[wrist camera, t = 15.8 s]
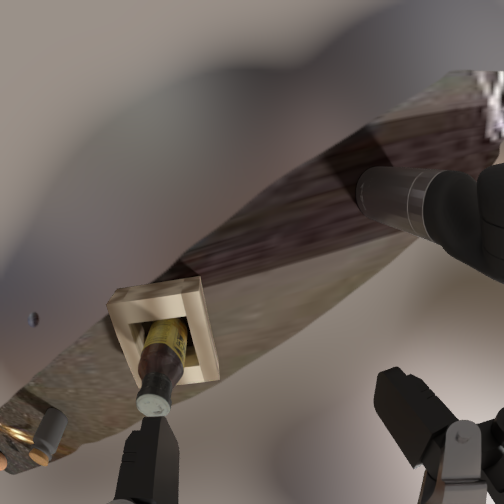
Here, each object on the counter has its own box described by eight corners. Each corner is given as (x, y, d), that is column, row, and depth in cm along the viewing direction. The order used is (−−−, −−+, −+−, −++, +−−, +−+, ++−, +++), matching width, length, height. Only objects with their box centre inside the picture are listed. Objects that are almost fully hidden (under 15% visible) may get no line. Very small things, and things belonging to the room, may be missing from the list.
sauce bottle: (186, 344, 48) (180, 431, 29) (151, 339, 47) (129, 423, 28) (190, 311, 47) (182, 394, 28) (152, 306, 46) (124, 385, 27)
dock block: (199, 275, 45) (198, 291, 40) (218, 358, 50) (219, 379, 44) (117, 288, 44) (106, 304, 38) (144, 367, 49) (138, 388, 43)
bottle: (67, 427, 51) (51, 471, 37) (47, 417, 50) (28, 459, 35) (67, 414, 50) (48, 459, 36) (46, 403, 49) (24, 447, 34)
